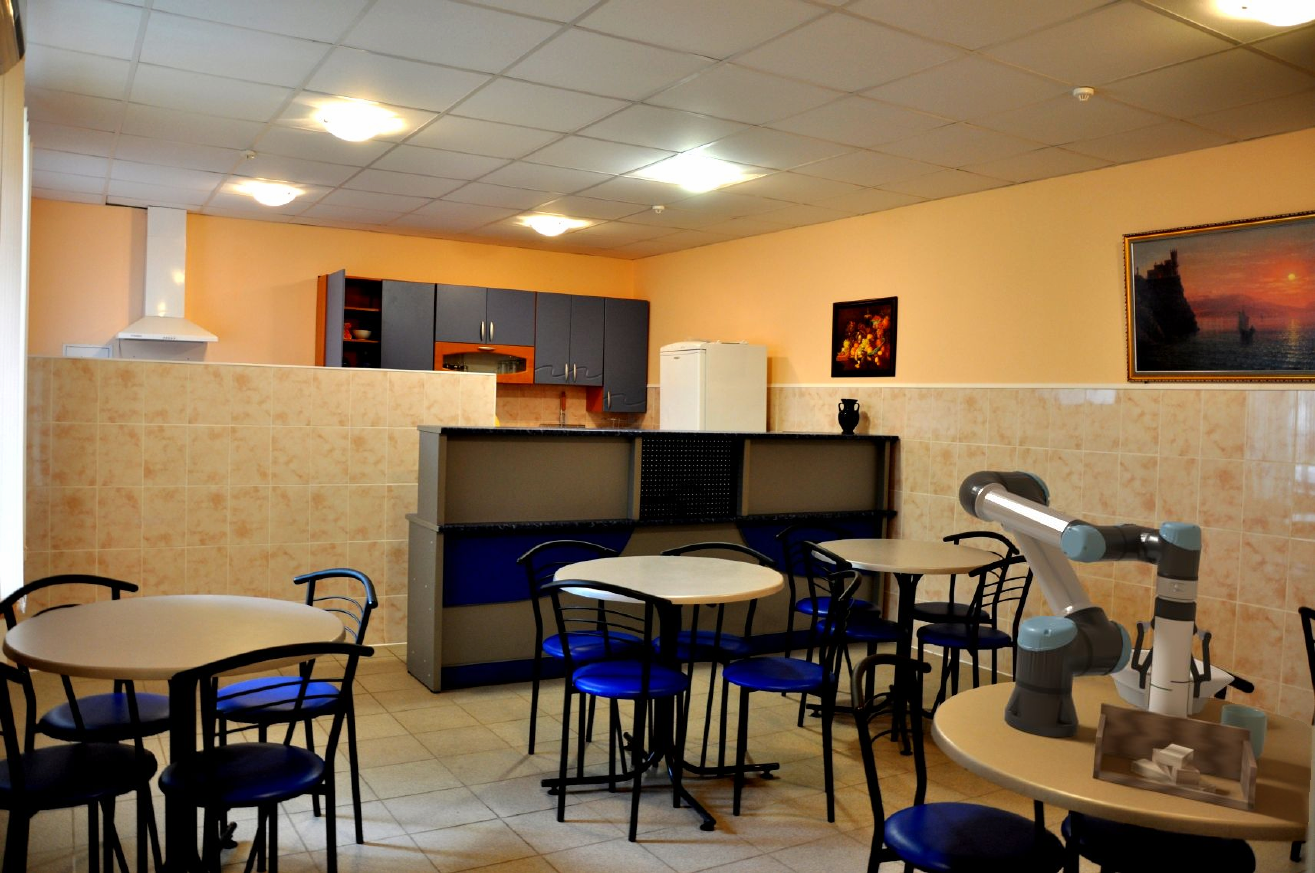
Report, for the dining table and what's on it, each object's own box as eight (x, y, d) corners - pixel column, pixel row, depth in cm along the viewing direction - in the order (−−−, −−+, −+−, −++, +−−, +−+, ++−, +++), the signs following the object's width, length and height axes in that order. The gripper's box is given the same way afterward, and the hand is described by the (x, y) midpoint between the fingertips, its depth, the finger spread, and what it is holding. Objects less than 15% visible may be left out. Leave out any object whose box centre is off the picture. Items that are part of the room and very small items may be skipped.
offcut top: (1171, 753, 184) (1172, 743, 183) (1192, 759, 181) (1193, 749, 181) (1158, 762, 179) (1159, 751, 179) (1180, 768, 176) (1181, 757, 176)
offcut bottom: (1130, 774, 185) (1131, 761, 185) (1143, 771, 187) (1144, 758, 187) (1201, 802, 173) (1202, 789, 173) (1214, 799, 175) (1215, 785, 175)
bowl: (1081, 687, 241) (1084, 647, 240) (1174, 689, 243) (1177, 650, 243) (1140, 720, 216) (1143, 676, 216) (1242, 722, 219) (1245, 678, 219)
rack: (1092, 777, 181) (1096, 725, 180) (1097, 750, 196) (1101, 702, 195) (1253, 812, 169) (1258, 756, 168) (1245, 780, 184) (1250, 729, 183)
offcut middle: (1152, 760, 186) (1153, 748, 186) (1173, 762, 186) (1174, 750, 186) (1176, 783, 175) (1177, 769, 175) (1198, 785, 175) (1200, 772, 175)
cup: (1209, 753, 198) (1213, 705, 197) (1235, 749, 201) (1239, 702, 200) (1246, 767, 190) (1250, 718, 190) (1271, 763, 193) (1275, 715, 193)
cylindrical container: (1190, 745, 191) (1199, 623, 190) (1151, 741, 193) (1161, 619, 192) (1178, 733, 198) (1187, 615, 197) (1141, 729, 200) (1150, 612, 199)
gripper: (1120, 594, 196) (1112, 703, 197) (1234, 608, 186) (1225, 723, 187) (1122, 588, 202) (1114, 694, 203) (1231, 602, 193) (1222, 713, 194)
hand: (1167, 708), depth 195 cm, fingers closed on cylindrical container, 7 cm apart
